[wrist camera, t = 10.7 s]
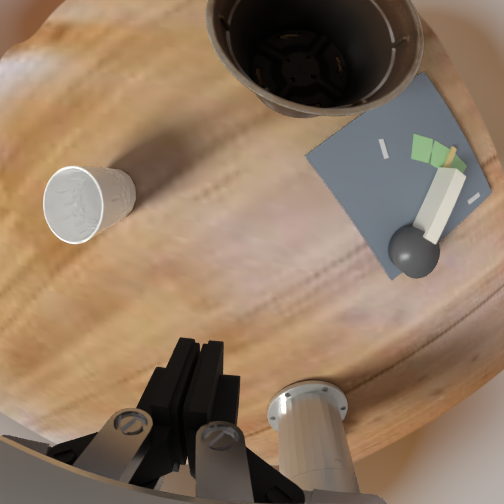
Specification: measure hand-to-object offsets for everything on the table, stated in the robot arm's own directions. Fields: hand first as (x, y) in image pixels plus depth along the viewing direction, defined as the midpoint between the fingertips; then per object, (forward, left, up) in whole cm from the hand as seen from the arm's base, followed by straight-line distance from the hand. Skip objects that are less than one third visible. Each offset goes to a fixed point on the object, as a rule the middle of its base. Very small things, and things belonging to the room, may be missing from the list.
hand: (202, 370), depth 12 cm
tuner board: (-7, -21, -27) cm, 35 cm away
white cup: (+14, +10, -27) cm, 32 cm away
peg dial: (-11, -20, -26) cm, 35 cm away
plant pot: (+11, -17, -27) cm, 34 cm away
